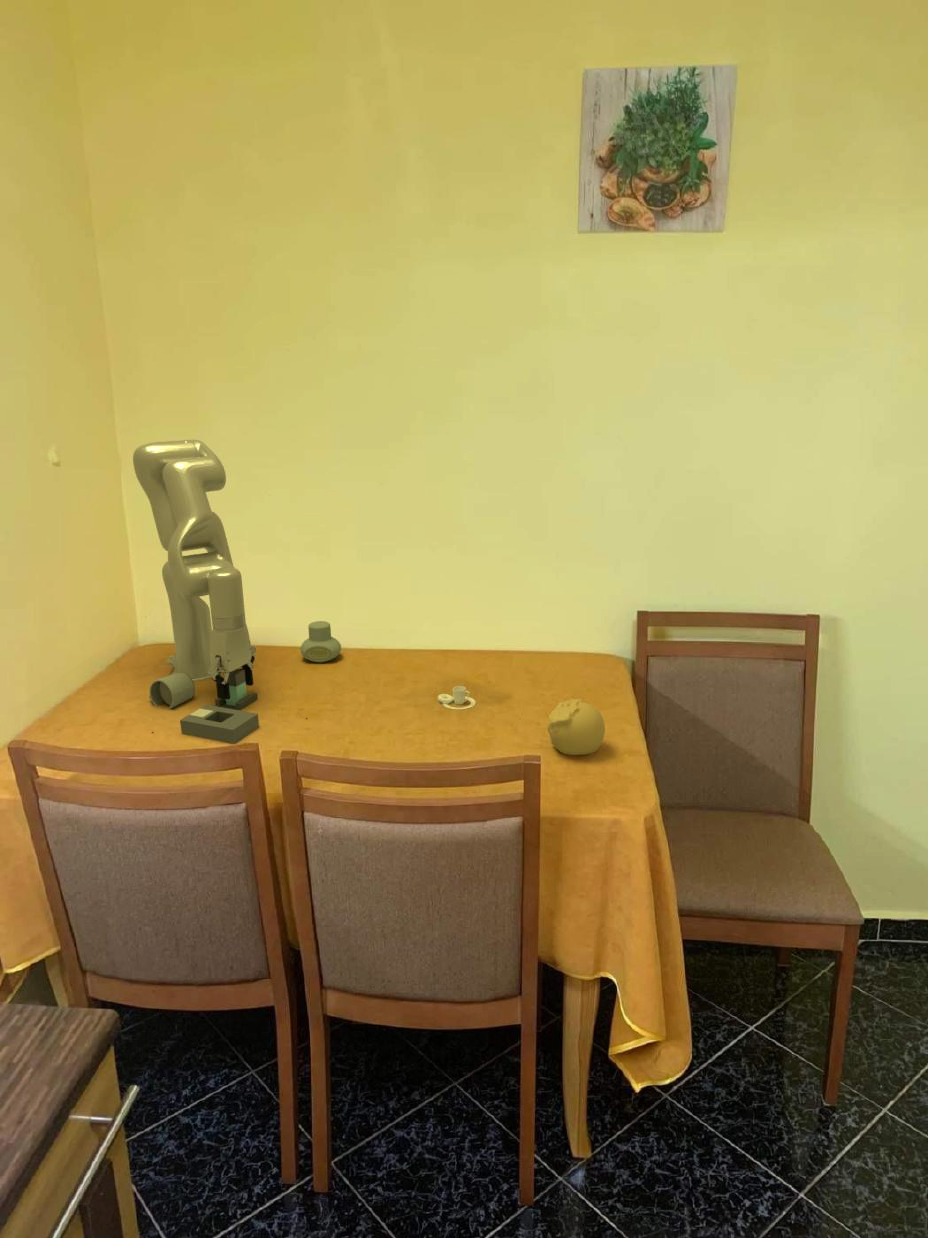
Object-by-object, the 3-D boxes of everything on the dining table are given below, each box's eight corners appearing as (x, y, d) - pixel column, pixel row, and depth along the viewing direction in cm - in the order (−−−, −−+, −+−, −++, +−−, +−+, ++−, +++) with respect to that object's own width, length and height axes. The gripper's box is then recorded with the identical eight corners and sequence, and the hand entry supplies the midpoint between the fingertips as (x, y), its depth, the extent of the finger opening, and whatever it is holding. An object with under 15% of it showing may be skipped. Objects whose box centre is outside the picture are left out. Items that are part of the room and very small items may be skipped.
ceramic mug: (199, 701, 210) (195, 671, 207) (174, 713, 203) (170, 683, 200) (166, 694, 214) (162, 665, 212) (141, 706, 207) (136, 676, 205)
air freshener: (298, 664, 233) (296, 629, 230) (304, 653, 240) (301, 619, 237) (339, 664, 233) (337, 628, 230) (343, 653, 241) (341, 619, 237)
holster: (215, 709, 205) (214, 699, 204) (233, 698, 211) (233, 689, 210) (240, 713, 202) (239, 704, 201) (258, 702, 208) (257, 693, 208)
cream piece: (433, 704, 207) (432, 688, 206) (455, 694, 213) (455, 679, 212) (459, 714, 202) (459, 698, 200) (482, 704, 207) (482, 688, 206)
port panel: (182, 736, 191) (179, 719, 189) (208, 720, 199) (206, 703, 197) (234, 747, 186) (232, 729, 184) (259, 730, 193) (257, 712, 192)
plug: (226, 704, 205) (222, 672, 203) (235, 698, 208) (232, 667, 206) (238, 706, 204) (235, 674, 202) (247, 701, 207) (244, 669, 205)
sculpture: (552, 734, 190) (553, 688, 187) (607, 740, 187) (609, 694, 183) (541, 757, 180) (542, 709, 176) (599, 764, 176) (601, 716, 173)
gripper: (238, 609, 209) (244, 676, 214) (190, 630, 194) (199, 702, 199) (264, 612, 206) (270, 680, 212) (218, 634, 191) (226, 707, 196)
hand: (235, 691), depth 205 cm, fingers open, 8 cm apart
